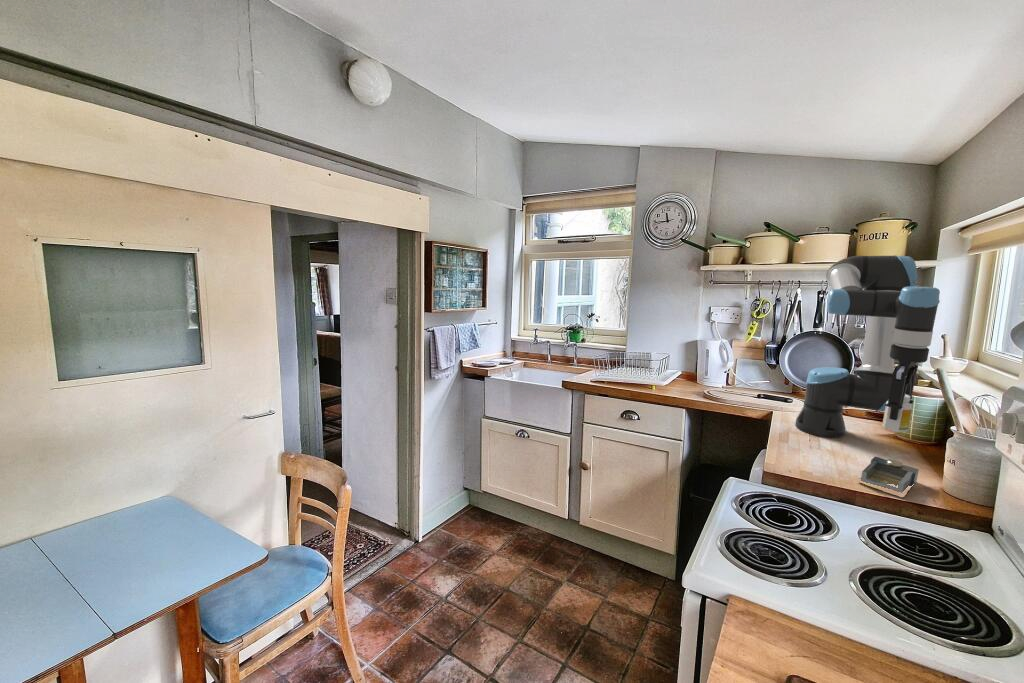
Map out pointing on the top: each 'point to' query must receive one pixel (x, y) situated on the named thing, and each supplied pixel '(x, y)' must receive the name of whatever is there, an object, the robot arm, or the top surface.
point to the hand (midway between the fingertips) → (895, 427)
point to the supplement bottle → (905, 414)
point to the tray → (889, 474)
